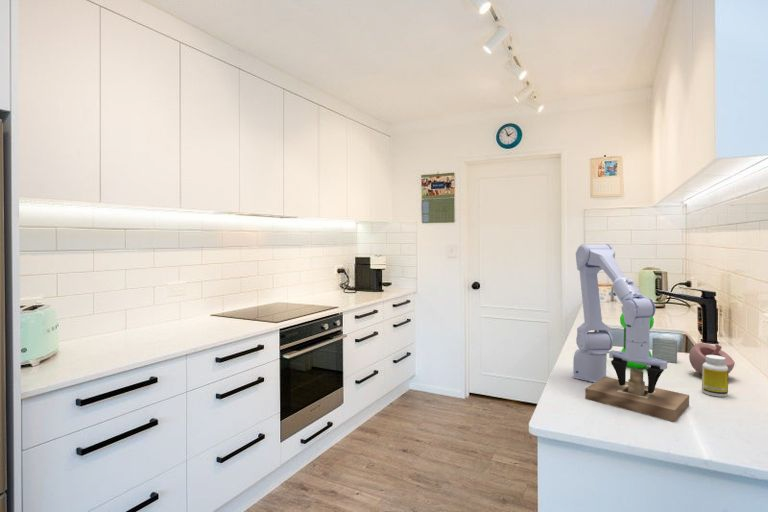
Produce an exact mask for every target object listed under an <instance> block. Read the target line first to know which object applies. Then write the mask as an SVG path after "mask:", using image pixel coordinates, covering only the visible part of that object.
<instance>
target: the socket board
mask: <svg viewBox="0 0 768 512" xmlns="http://www.w3.org/2000/svg"><path fill="white" fill-rule="evenodd" d="M609 377H610V376H608V377H603V378H602V379H600V380H598V381H597V382H592V383H591V384H590V385H589V386H587V387H585V388H584V389H585V390H584V391H585V396H584V398H585V400H589V401H594V402H597V403H601V404H604V405H608V406H611V407H612V406H613V407H616V408H620V409H623V410H628V411H632V412H635V413H639V414H642V415H645V416H646V415H647V416H651V417H654V418H658V419H663V420H666V421H670V422H676V421H677V420H678V419H679V418H680V417H681V416H682V414H683V413H684V412H685V411H686V410H687V409H688V408H689V407H690V394H686V393H682V392H679V391H678V392H677V391H673V390H668V389H664V388H659V387H655V389H654V392H653V393H648V385H646V384H645V396H640V395H636V394H632V393H628V381H625V385H622V386H621V385H619V381H618V378H613V377H611V378H609Z"/></svg>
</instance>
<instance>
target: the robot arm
mask: <svg viewBox="0 0 768 512" xmlns="http://www.w3.org/2000/svg"><path fill="white" fill-rule="evenodd" d="M575 261H576V269H577V271H579V280H580V287H581V288H580V289H581V299H582V300H581V301H582V309H583V320H584V322H583V323H582V324H580V325H579V326H578V327H577V328H576V331H577V333H576V339H575V341H576V346H577V348H578V349H576V350H575V352H574V353H573V361H572V362H573V363H572V364H573V367H572V368H573V370H572V371H573V372H572V373H573V374H572V375H571V376H572V378H574V379H578V380H583V381H587V382H590V383H595V382H597V381H598V380H600V379H602V378H603V377H609V378H612V377H611V376H608V375H607V359H608V358H607V355H608V357H609V359H612V360H610V363H611V366H612V367H613V369H614V371H615V374H616V376H617V377H616V378H617V379H618V381H619V385H621V386H622V385H625V381H626V376H627V375H626V371H627V361H630V362H634V363H639V364H643V365H647V366H648V367H647V368H646V373H647V380H648V381H647V386H648V393H653V392H654V389H655V388H656V385H657V383H658V381H659V378H660V377H661V375H662V374H663V372H664V371H665V370H667V369H668V362H667V361H663V360H659V359H656V358H653V357H649V351H650V334H651V333H650V330H651V329H650V318H652V317H653V318H654V316H655V314H656V304H655V302H654V301H653V299H652V298H651V297H649V296H648V297H647V296H646V295H645V294H643V293H642V292H641V291H640V289H639V288H638V286H637V285H636V284H635V283H634V281H633V279H631V278H630V277H625V275H624V273H623V272H622V270H621V267H620V266H619V265H618V263H617V261H616V251H615V250H614V248H613V246H612V245H611V244H609V243H606V244H605V243H604V244H585V243H581V244H579V246H578V247H577V249H576V251H575ZM600 271H603V272H604V273H605V274H606V276H607V277H608V278H609V279H610V280H611V282H612V287H611V288H612V290H613V292H614V293H615V295H616V296H617V298H618V299H619V301H620V303H621V304H622V305H621V314H622V313H623V315H624V321H625V324H626V352H621V351H618V350H612V349H613V347H614V338H613V335H612V333H611V329H610V327H609V326H608V325H607V324H605V323H604V322H603V317H602V310H601V297H600V289H599V281H598V274H599V272H600Z"/></svg>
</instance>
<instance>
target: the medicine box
mask: <svg viewBox="0 0 768 512" xmlns="http://www.w3.org/2000/svg"><path fill="white" fill-rule="evenodd" d="M651 341H652V345H651V346H652V347H651V349H652V350H651V355H652V357H653V358H656V359H659V360H663V361H667V363H674V364H677V363H678V338H677V337H671V336H660V335H652V340H651Z"/></svg>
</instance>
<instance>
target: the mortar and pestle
mask: <svg viewBox="0 0 768 512" xmlns="http://www.w3.org/2000/svg"><path fill="white" fill-rule="evenodd" d="M722 347H723V346H721V345H720V344H719V343H715V344H714V345H712V344H708V343H705V342H698V343H697V342H696V344H694V345H693V346H692V347H691V349H690V351H689V354H688V357H689V359H688V360H689V362H690V365H691V367H692V368H693V369H694V370H695V371H696V372H697V373H698V374H700V375H702V366H703V364H704V363H705V362H707V361H706V355H717V356H722V357H725V358H726V362H725V363H724V364H725V365H726V366H727V367H728V371H729V372H728V375H729V374H730V373H731V372H732V371H733V369H734V367H735V365H736V364H735V361H734V359H733V357H731V355H729V354H728V353H727V352H726V351H723V350H722Z"/></svg>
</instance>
